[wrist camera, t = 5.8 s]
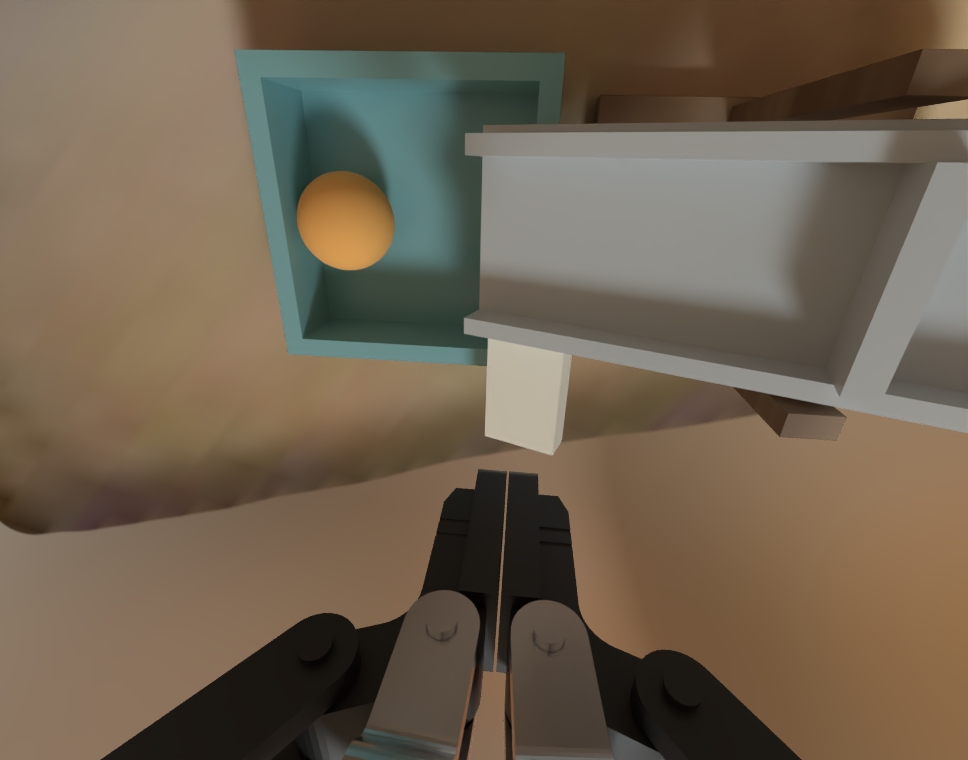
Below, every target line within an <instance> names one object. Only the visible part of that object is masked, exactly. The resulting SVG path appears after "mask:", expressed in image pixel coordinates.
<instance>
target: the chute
mask: <svg viewBox="0 0 968 760" xmlns="http://www.w3.org/2000/svg"><path fill="white" fill-rule="evenodd" d="M465 155H468V156H482V203H481V250H480V297H479V310H477V311H475V312H474V313H472V314H470V315H468V316H466V317H464V334H468V335H474V336H479V337H484V338H488V353H487V385H486V418H485V436H488V437H491V438H494V439H498V440H501V441H505V442H508V443H511V444H515V445H518V446H522V447H525V448H528V449H532V450H535V451H539V452H542V453H545V454H549V455H553V454H554V452H555V451H556V449H557V447H558V446H559V444H560V443H561V441H562V433H563V425H564V417H565V408H566V400H567V391H568V383H569V375H570V366H571V358H572V355H575V356H580V357H585V358H590V359H595V360H600V361H605V362H610V363H615V364H620V365H625V366H631V367H636V368H641V369H646V370H651V371H656V372H661V373H666V374H671V375H676V376H681V377H686V378H691V379H696V380H701V381H706V382H712V383H717V384H722V385H727V386H732V387H737V388H742V389H747V390H752V391H757V392H762V393H767V394H772V395H777V396H782V397H787V398H793V399H798V400H803V401H808V402H813V403H818V404H823V405H828V406H833V407H838V408H843V409H848V410H853V411H858V412H864V413H869V414H874V415H879V416H884V417H889V418H894V419H899V420H904V421H909V422H914V423H920V424H924V425H929V426H934V427H939V428H945V429H950V430H955V431H960V432H965V433H968V119H906V120H831V121H756V122H681V123H606V124H530V125H483V133H465Z"/></svg>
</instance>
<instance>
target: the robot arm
mask: <svg viewBox="0 0 968 760" xmlns="http://www.w3.org/2000/svg"><path fill="white" fill-rule="evenodd" d="M506 476H507V472H506V471H495V470H483V469H479V470H478V474H477V480H476V486H475V490H474V489H462V488H456V489H455V490H454V491H453V492H452V493H451V494H450V496H449V497H448V498H447V499H446V500H445V501H444V504H443V508H442V513H441V517H440V522H439V524H438V528H437V534H436V536H435V540H434V544H433V549H432V552H431V556H430V561H429V564H428V568H427V572H426V576H425V581H424V585H423V589H422V591H421V594H420V596H419V598H418V600H416V601H415V602H414V604H413V605H412V606H411V607H410V609H409V610H408V611H407V612H406V613H405V614H403V615H402V616H400V617H398V618H397V619H394V620H392V621H390V622H386V623H383V624H378V625H374V626H369V627H364V628H360V629H355V627H354V625H353V624H352V623H351V622H350V621H349V620H348V619H347V618H345V617H343V616H341V615H338V614H333V613H322V614H317V615H313V616H310V617H308V618H306V619H304V620H302V621H300V622H299V623H297V624H296V625H294V626H293V627H291V628H290V629H288V630H287V631H285V632H284V633H282V634H281V635H280V636H278V637H277V638H275V639H274V640H273V641H271V642H270V643H268V644H267V645H265V646H264V647H262V648H261V649H260V650H258V651H257V652H255V653H254V654H252V655H251V656H249V657H248V658H247V659H245V660H244V661H242V662H241V663H239V664H238V665H237V666H235V667H234V668H232V669H231V670H229V671H228V672H226V673H225V674H223V675H222V676H221V677H219V678H218V679H216V680H215V681H214V682H212V683H210V684H209V685H208V686H206V687H205V688H203V689H202V690H200V691H199V692H197V693H196V694H195V695H193V696H192V697H190V698H189V699H187V700H186V701H185V702H183V703H182V704H180V705H179V706H177V707H176V708H175V709H173V710H172V711H170V712H169V713H167V714H166V715H164V716H163V717H162V718H160V719H159V720H157V721H156V722H154V723H153V724H152V725H150V726H148V727H147V728H146V729H144V730H143V731H141V732H140V733H138V734H137V735H136V736H134V737H133V738H131V739H130V740H128V741H127V742H125V743H124V744H123V745H121V746H120V747H118V748H117V749H115V750H114V751H112V752H111V753H110V754H108V755H107V756H105V757H104V758H102V759H101V760H469V758H470V752H471V746H472V739H473V734H474V728H475V721H476V713H477V710H478V707H479V705H480V698H481V689H482V678H483V671H490V672H493V665H494V650H495V636H496V623H497V609H498V595H499V581H500V566H501V552H502V538H503V523H504V508H505V506H504V505H505V492H506ZM503 562H504V563H503V576H502V592H501V607H500V624H499V638H498V654H497V670H496V671H497V672H502V673H506V685H505V686H506V687H505V705H504V719H503V721H504V760H801V759H800V758H799V757H798V756H797V755H796V754H795V753H794V752H793V751H792V750H791V749H790V748H789V747H788V746H787V745H786V744H785V743H784V742H782V741H781V740H780V739H779V738H778V737H777V736H776V735H775V734H774V733H773V732H772V731H771V730H770V729H769V728H768V727H767V726H766V725H765V724H764V723H763V722H761V721H760V720H759V719H758V718H757V717H756V716H755V715H754V714H753V713H752V712H751V711H750V710H749V709H748V708H747V707H746V706H745V705H744V704H743V703H741V702H740V701H739V700H738V699H737V698H736V697H735V696H734V695H733V694H732V693H731V692H730V691H729V690H728V689H727V688H726V687H725V686H724V685H723V684H722V683H720V681H718V680H717V679H716V678H715V677H714V676H713V675H712V674H711V673H710V672H709V671H708V670H707V669H706V668H705V667H703V666H702V665H701V664H700V663H699V662H697V661H695V660H694V659H693V658H691V657H689V656H687V655H685V654H682V653H680V652H676V651H672V650H657V651H654V652H651V653H649V654H648V655H646V656H645V657H644V658H643V659H640V658H638V657H636V656H633V655H631V654H629V653H626V652H624V651H622V650H619V649H617V648H615V647H613V646H611V645H609V644H607V643H606V642H604V641H603V640H601V639H600V638H599V637H598V636H596V635H595V634H594V633H593V632H592V631H591V629H589V627H588V626H587V624H586V623H585V621H584V619H583V617H582V615H581V612H580V610H579V605H578V596H577V587H576V578H575V569H574V560H573V551H572V542H571V533H570V523H569V514H568V511H567V509H566V508H565V506H564V505H563V503H562V502H561V500H560V499H559V497H558V496H549V495H538V474H535V473H522V472H509V485H508V499H507V515H506V530H505V545H504V561H503Z"/></svg>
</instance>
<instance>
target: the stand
mask: <svg viewBox="0 0 968 760" xmlns="http://www.w3.org/2000/svg"><path fill="white" fill-rule="evenodd" d="M966 99H968V49H921V50H918V51H915V52H911V53H908V54H905V55H901V56H898V57H895V58H891V59H888V60H885V61H882V62H878V63H875V64H872V65H868V66H865V67H862V68H858V69H855V70H852V71H848V72H845V73H842V74H838V75H835V76H832V77H828V78H825V79H822V80H818V81H815V82H812V83H809V84H805V85H802V86H799V87H795V88H792V89H789V90H785V91H782V92H779V93H775V94H772V95H769V96H765V97H762V98H750V97H689V96H628V95H600V96H599V97H598V98H597V106H596V114H595V123H594V124H606V123H681V122H756V121H831V120H906V119H913V117H914V114H915V112H916V109H917V107H921V106H928V105H934V104H940V103H947V102H953V101H960V100H966ZM734 389H735V390H736V391H737V392H738V393H739V394H740V395H741V396H742V397H743V398H744V399H745V400H746V401H747V402H748V404H749V405H750V406H751V407H752V408H753V409H754V410H755V411H756V412H757V413H758V414H759V415H760V416H761V417H762V418H763V420H764V421H765V422H766V423H767V424H768V425H769V426H770V427H771V428H772V429H773V430H774V431H775V432H776V433H777V434H778V436H779V437H789V438H803V439H818V440H833V441H836V440H837V438H838V436H839V434H840V432H841V429H842V427H843V425H844V422H845V420H846V416H845V415H843V414H842V413H841V412H839V411H838V410H837V409H836V408H834V407H833V406H828V405H823V404H818V403H813V402H808V401H803V400H798V399H793V398H787V397H782V396H777V395H772V394H767V393H762V392H757V391H752V390H747V389H742V388H737V387H734Z"/></svg>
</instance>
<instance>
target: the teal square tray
mask: <svg viewBox="0 0 968 760" xmlns="http://www.w3.org/2000/svg"><path fill="white" fill-rule="evenodd" d="M234 52H235V57H236V63H237V68H238V74H239V80H240V85H241V91H242V96H243V102H244V108H245V113H246V119H247V124H248V130H249V136H250V141H251V147H252V153H253V158H254V164H255V169H256V175H257V181H258V186H259V192H260V197H261V203H262V209H263V214H264V220H265V226H266V231H267V237H268V242H269V248H270V254H271V259H272V265H273V270H274V276H275V282H276V287H277V293H278V299H279V304H280V310H281V315H282V321H283V327H284V332H285V338H286V343H287V349H288V354H294V355H311V356H328V357H344V358H361V359H378V360H395V361H412V362H428V363H445V364H462V365H479V366H487V353H488V338H484V337H479V336H474V335H468V334H464V317H466V316H468V315H470V314H472V313H474V312H475V311H477V310H479V297H480V250H481V203H482V156H468V155H465V133H483V125H530V124H560V114H561V102H562V90H563V79H564V67H565V55H566V53H531V52H429V51H326V50H234ZM333 171H349V172H353V173H357V174H359V175H362V176H364V177H366V178H368V179H369V180H370V181H372V182H373V183H375V184H376V185H377V186H378V187H379V188H380V189H381V190H382V192H383V193H384V194H385V196H386V197H387V199H388V201H389V203H390V205H391V207H392V211H393V214H394V221H395V230H394V236H393V240H392V243H391V245H390V247H389V249H388V251H387V252H386V253H385V255H384V256H383V257H382V258H381V259H380V260H379V261H377V262H376V263H374V264H373V265H371V266H369V267H366V268H363V269H359V270H342V269H337V268H334V267H332V266H329V265H327V264H325V263H323V262H322V261H321V260H319V259H318V258H317V257H315V256H314V255H313V254H312V253H311V251H310V250H309V249H308V248H307V246H306V245H305V243H304V242H303V240H302V238H301V235H300V232H299V229H298V225H297V207H298V202H299V199H300V197H301V195H302V193H303V191H304V190H305V188H306V187H307V186H308V185H309V184H310V183H311V182H312V181H313V180H314V179H316V178H317V177H319V176H321V175H323V174H326V173H329V172H333Z"/></svg>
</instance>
